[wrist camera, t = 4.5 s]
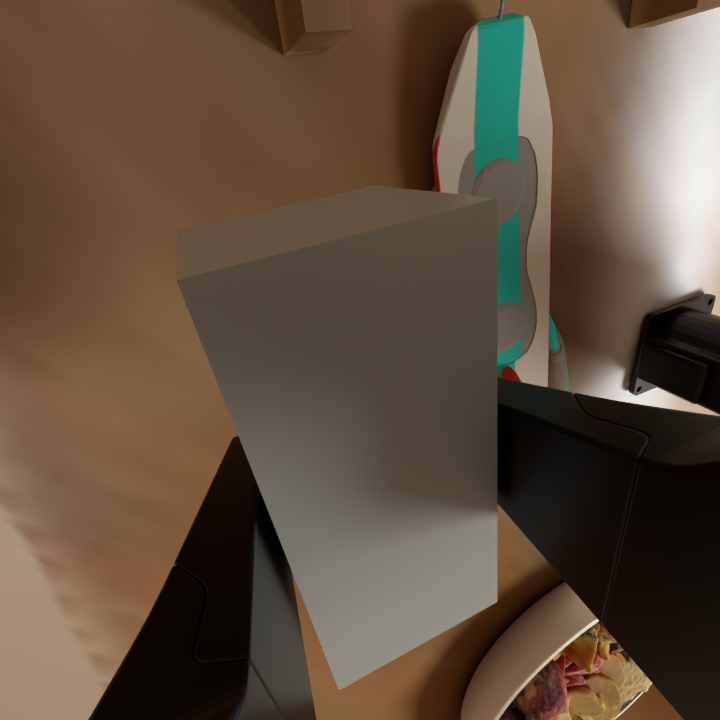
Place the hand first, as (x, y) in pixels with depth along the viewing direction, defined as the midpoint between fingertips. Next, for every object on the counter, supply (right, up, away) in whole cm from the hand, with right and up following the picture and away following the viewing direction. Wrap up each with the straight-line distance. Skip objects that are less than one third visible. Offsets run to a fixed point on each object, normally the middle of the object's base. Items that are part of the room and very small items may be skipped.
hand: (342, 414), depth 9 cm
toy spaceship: (+7, +4, +14) cm, 16 cm away
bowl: (+23, -31, +37) cm, 54 cm away
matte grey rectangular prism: (0, 0, +1) cm, 1 cm away
